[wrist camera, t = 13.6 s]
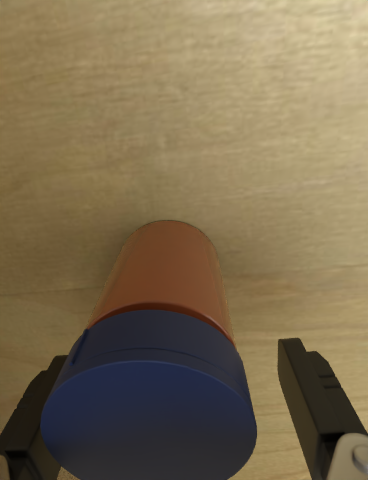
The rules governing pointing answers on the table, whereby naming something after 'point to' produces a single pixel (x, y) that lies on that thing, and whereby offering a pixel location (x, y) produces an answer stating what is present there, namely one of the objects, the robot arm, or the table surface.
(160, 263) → the jar
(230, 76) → the table surface
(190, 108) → the table surface
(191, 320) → the jar lid
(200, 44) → the table surface
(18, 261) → the table surface
